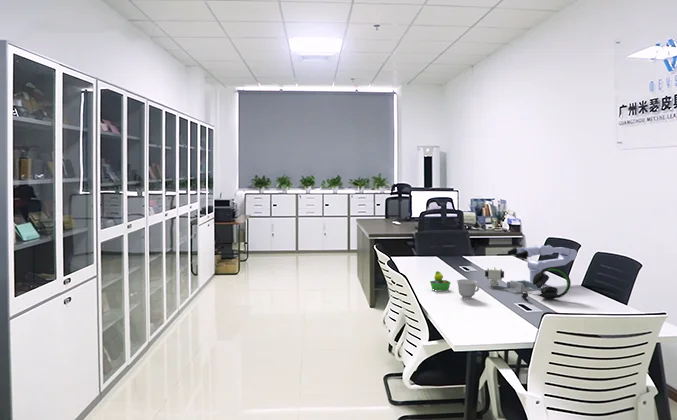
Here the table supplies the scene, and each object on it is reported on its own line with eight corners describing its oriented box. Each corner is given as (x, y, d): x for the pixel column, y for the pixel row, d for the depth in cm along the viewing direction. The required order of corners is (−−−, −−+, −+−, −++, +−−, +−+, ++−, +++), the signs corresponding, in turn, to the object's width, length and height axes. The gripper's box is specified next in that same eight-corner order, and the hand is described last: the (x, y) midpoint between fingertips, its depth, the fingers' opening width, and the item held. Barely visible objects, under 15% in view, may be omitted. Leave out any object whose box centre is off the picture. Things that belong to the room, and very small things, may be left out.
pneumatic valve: (503, 287, 314) (504, 268, 313) (484, 285, 317) (485, 267, 316) (503, 285, 319) (504, 267, 318) (485, 284, 323) (485, 266, 322)
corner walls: (524, 285, 318) (524, 280, 318) (540, 290, 304) (541, 285, 304) (506, 287, 314) (506, 281, 314) (522, 292, 300) (522, 286, 299)
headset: (530, 312, 286) (575, 290, 283) (531, 308, 274) (579, 285, 271) (513, 286, 294) (557, 264, 291) (514, 281, 282) (560, 258, 279)
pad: (523, 286, 315) (523, 286, 315) (536, 290, 303) (536, 290, 303) (509, 287, 311) (509, 287, 311) (522, 292, 300) (522, 291, 300)
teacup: (471, 302, 276) (471, 285, 275) (452, 297, 288) (452, 280, 288) (485, 299, 282) (485, 283, 281) (466, 294, 295) (466, 278, 294)
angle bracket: (522, 293, 298) (523, 283, 297) (514, 294, 296) (515, 284, 295) (512, 289, 307) (512, 280, 307) (504, 290, 305) (504, 281, 305)
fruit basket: (434, 291, 303) (434, 273, 302) (428, 288, 312) (428, 271, 311) (451, 290, 305) (451, 272, 304) (445, 287, 314) (445, 270, 313)
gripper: (521, 243, 323) (504, 245, 319) (537, 248, 310) (520, 251, 305) (520, 253, 325) (504, 255, 320) (536, 259, 312) (519, 261, 307)
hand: (512, 254), depth 313 cm, fingers open, 7 cm apart
